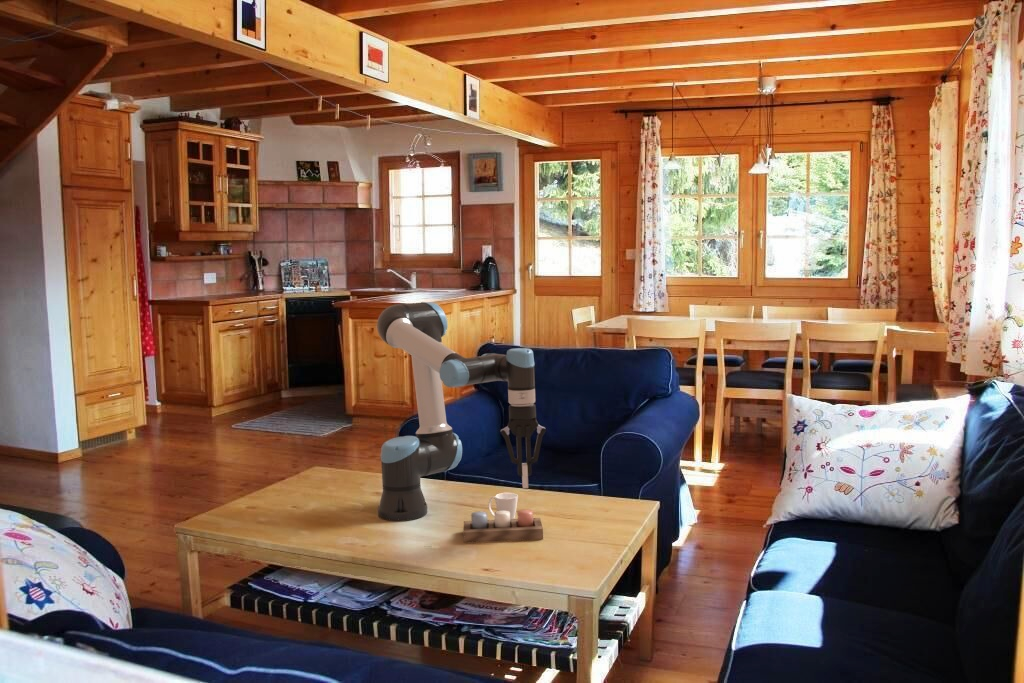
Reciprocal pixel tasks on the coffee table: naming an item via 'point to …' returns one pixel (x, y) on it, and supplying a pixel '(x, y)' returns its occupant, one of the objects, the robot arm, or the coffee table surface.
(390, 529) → the coffee table surface
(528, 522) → the pink egg
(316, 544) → the coffee table surface
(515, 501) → the cup
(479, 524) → the blue egg
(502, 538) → the brown compartment tray
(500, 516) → the cream rounded knob
